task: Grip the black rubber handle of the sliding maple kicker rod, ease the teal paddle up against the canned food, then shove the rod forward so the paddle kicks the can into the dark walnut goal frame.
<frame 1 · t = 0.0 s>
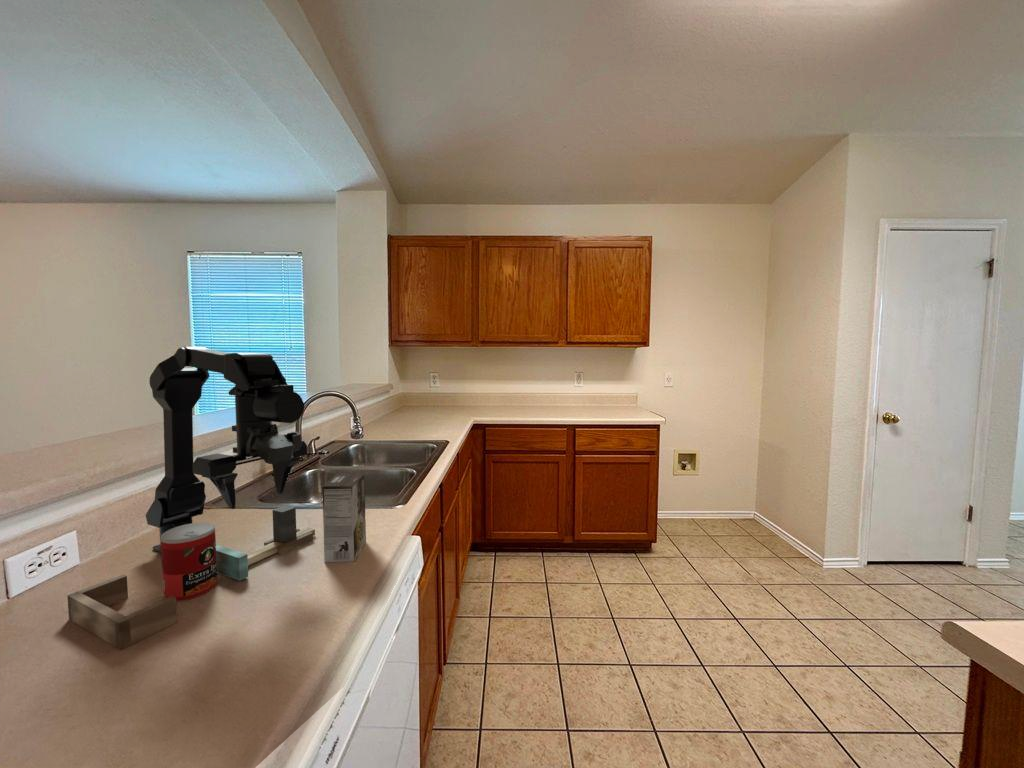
hand: (257, 500, 78), 15 cm above the countertop, fingers open, 9 cm apart
goal: (132, 616, 67), on the countertop
kicker: (270, 533, 88), point 5 cm above the countertop, slide at 0.0 cm
coffee box: (346, 553, 89), on the countertop
guide: (289, 545, 92), on the countertop
canned food: (191, 590, 74), on the countertop
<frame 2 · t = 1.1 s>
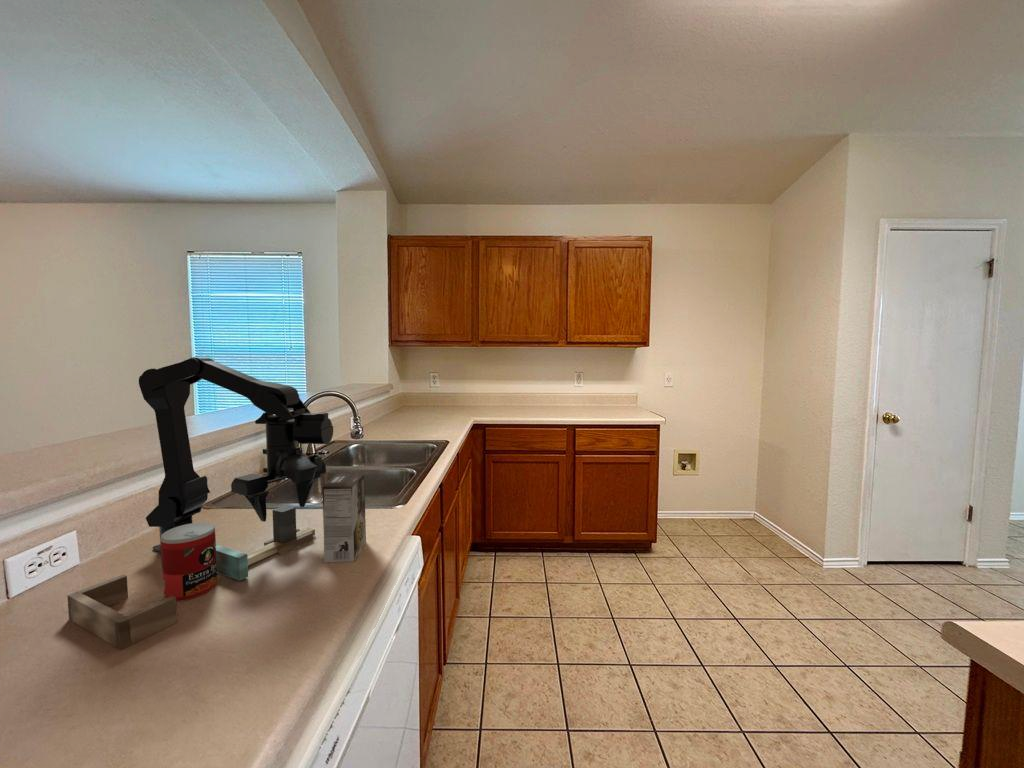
hand: (283, 513, 91), 8 cm above the countertop, fingers open, 9 cm apart
nothing on the countertop moved.
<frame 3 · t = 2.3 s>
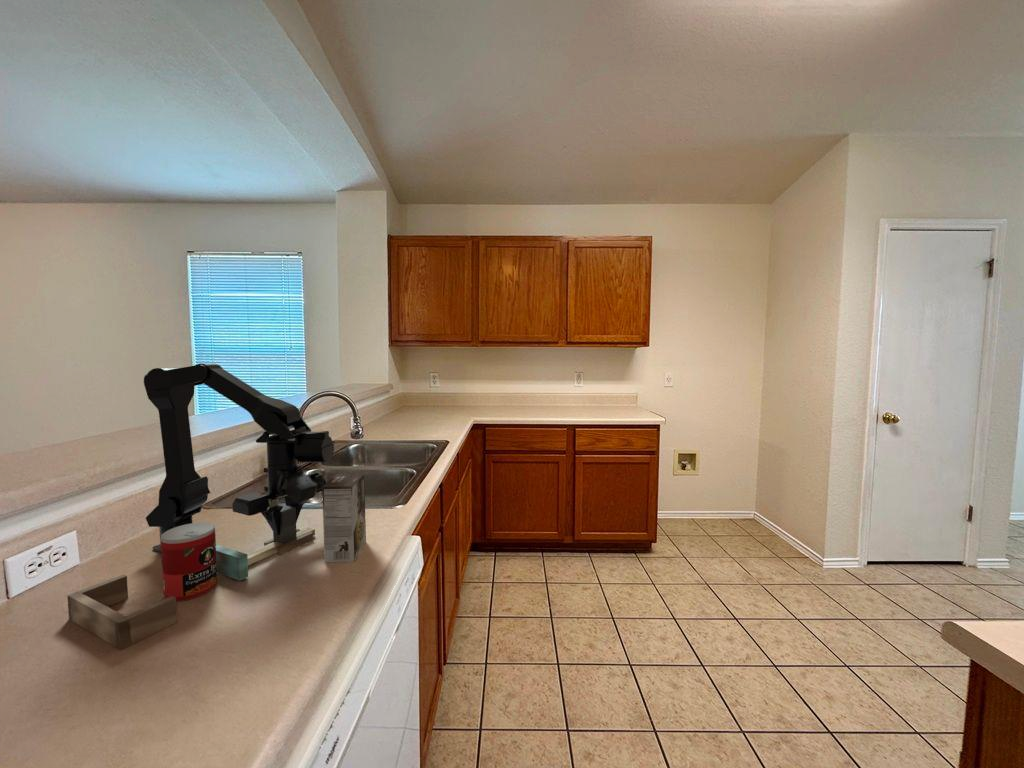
hand: (284, 531, 91), 4 cm above the countertop, fingers closed on kicker, 3 cm apart
kicker: (270, 533, 88), point 4 cm above the countertop, slide at 0.0 cm, touching gripper
everything else where it was.
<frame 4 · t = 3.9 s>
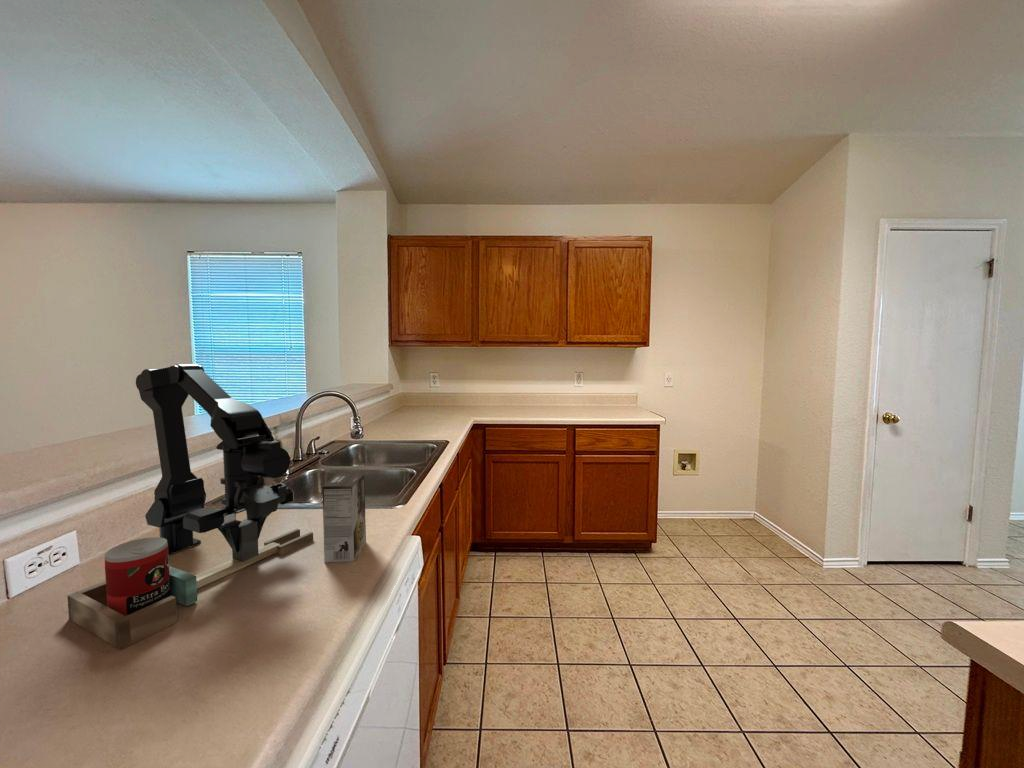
hand: (245, 548, 83), 3 cm above the countertop, fingers closed on kicker, 3 cm apart
kicker: (228, 550, 80), point 4 cm above the countertop, slide at 8.7 cm, touching canned food, gripper
canned food: (140, 612, 68), on the countertop, touching kicker
everything else where it was.
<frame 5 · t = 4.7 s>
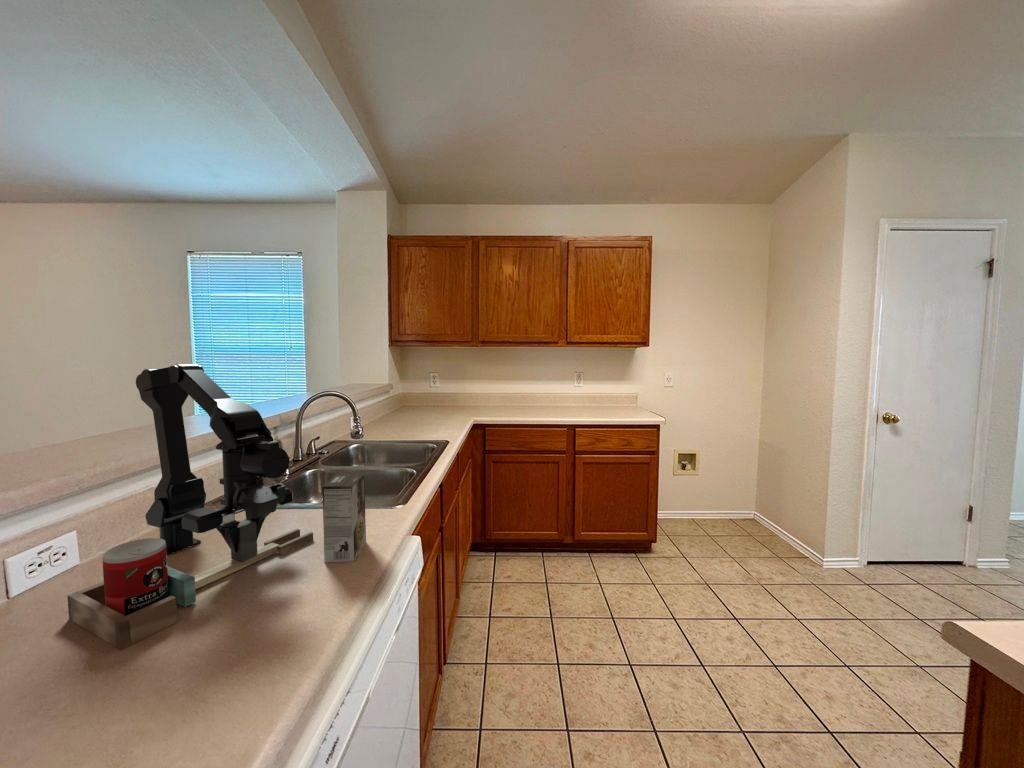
hand: (244, 548, 83), 4 cm above the countertop, fingers closed on kicker, 3 cm apart
kicker: (226, 550, 80), point 5 cm above the countertop, slide at 8.9 cm, touching gripper
canned food: (139, 613, 68), on the countertop
everything else where it was.
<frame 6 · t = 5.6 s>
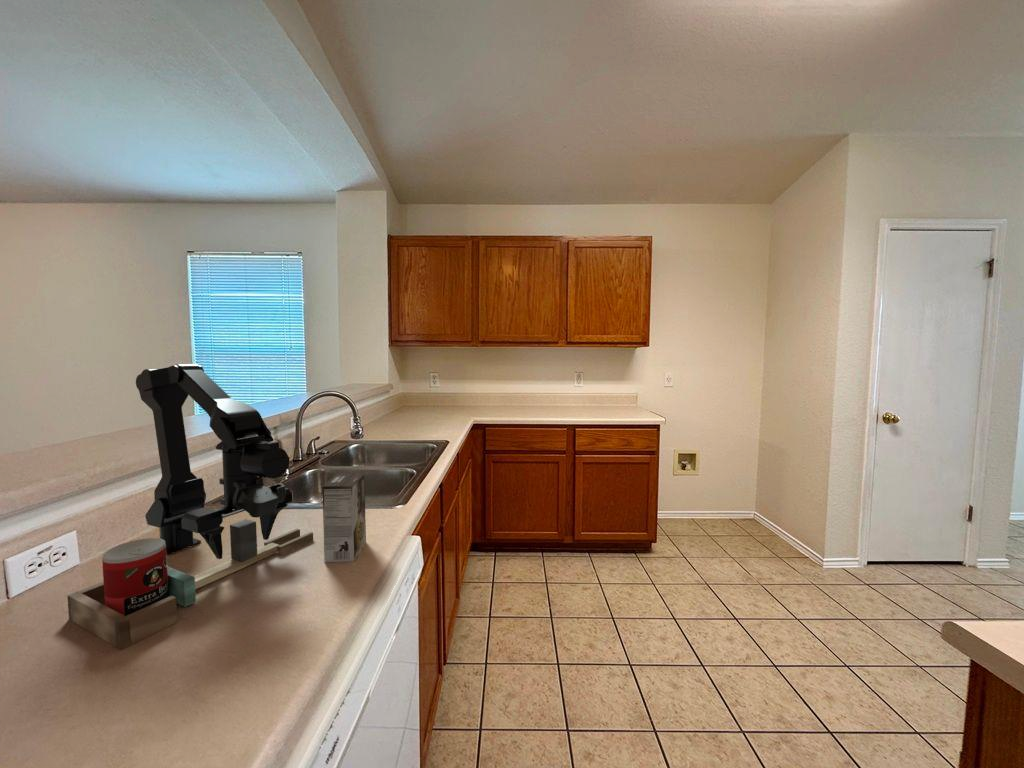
hand: (243, 548, 83), 4 cm above the countertop, fingers open, 9 cm apart
kicker: (226, 550, 80), point 4 cm above the countertop, slide at 8.9 cm
everything else where it was.
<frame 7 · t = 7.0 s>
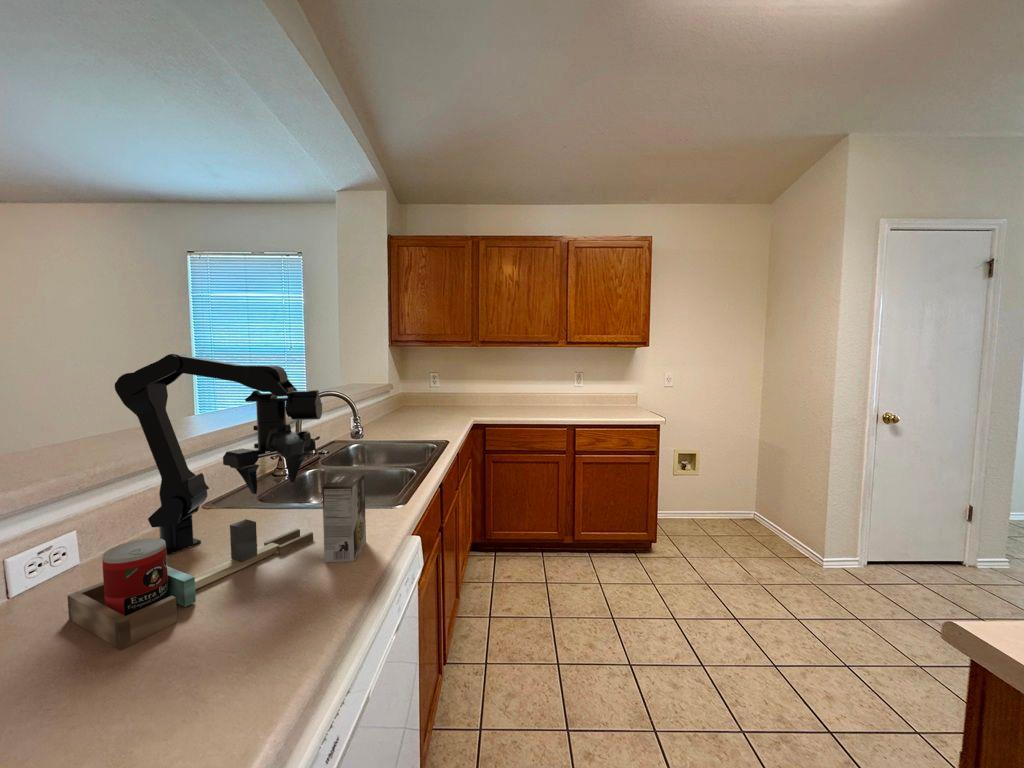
hand: (274, 487, 95), 12 cm above the countertop, fingers open, 9 cm apart
nothing on the countertop moved.
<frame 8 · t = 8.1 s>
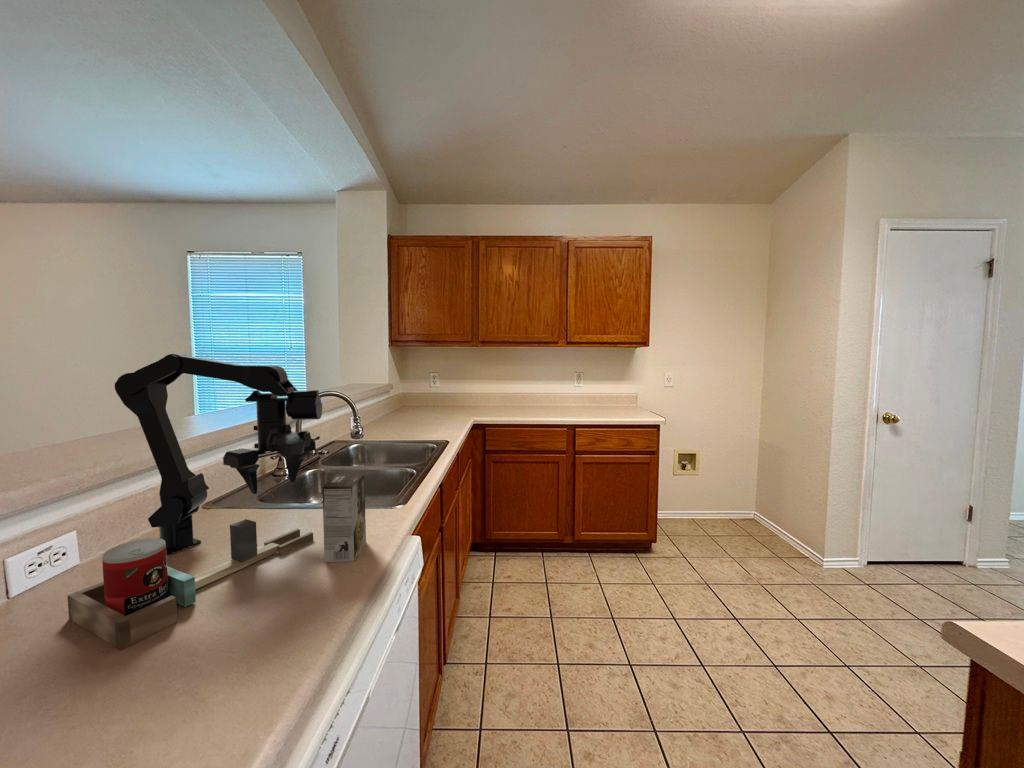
hand: (274, 487, 95), 12 cm above the countertop, fingers open, 9 cm apart
nothing on the countertop moved.
at the end: canned food inside the target area (1.4 cm from its centre), on the countertop; canned food tilted 0°; kicker slide at 8.9 cm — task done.
